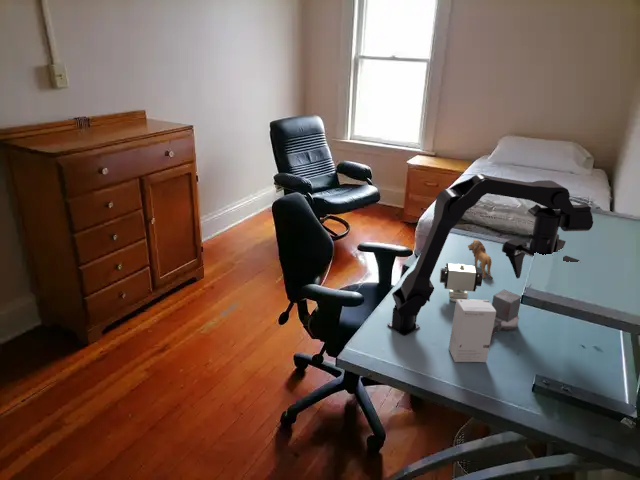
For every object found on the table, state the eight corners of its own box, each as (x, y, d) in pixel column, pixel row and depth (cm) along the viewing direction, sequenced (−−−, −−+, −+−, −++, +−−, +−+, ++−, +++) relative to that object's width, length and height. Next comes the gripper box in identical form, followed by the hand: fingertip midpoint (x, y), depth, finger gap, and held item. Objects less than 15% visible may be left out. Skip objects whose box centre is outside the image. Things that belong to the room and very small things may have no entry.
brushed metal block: (507, 322, 126) (511, 303, 124) (490, 314, 130) (493, 295, 128) (517, 315, 129) (521, 296, 127) (500, 308, 133) (504, 289, 131)
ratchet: (482, 350, 120) (486, 331, 117) (458, 336, 125) (460, 317, 123) (522, 324, 130) (526, 306, 128) (498, 313, 136) (501, 295, 133)
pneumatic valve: (478, 305, 139) (484, 270, 135) (437, 301, 141) (442, 266, 137) (476, 296, 144) (481, 261, 139) (437, 292, 146) (441, 258, 142)
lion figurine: (463, 261, 166) (467, 238, 163) (477, 260, 168) (480, 237, 164) (485, 281, 153) (489, 256, 150) (500, 279, 154) (504, 255, 151)
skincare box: (454, 363, 115) (461, 311, 109) (447, 347, 121) (454, 298, 115) (488, 362, 115) (497, 311, 109) (480, 347, 121) (488, 297, 115)
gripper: (597, 234, 117) (583, 289, 124) (527, 214, 131) (518, 264, 137) (576, 246, 111) (562, 302, 117) (505, 223, 124) (496, 275, 131)
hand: (533, 284), depth 126 cm, fingers open, 9 cm apart
